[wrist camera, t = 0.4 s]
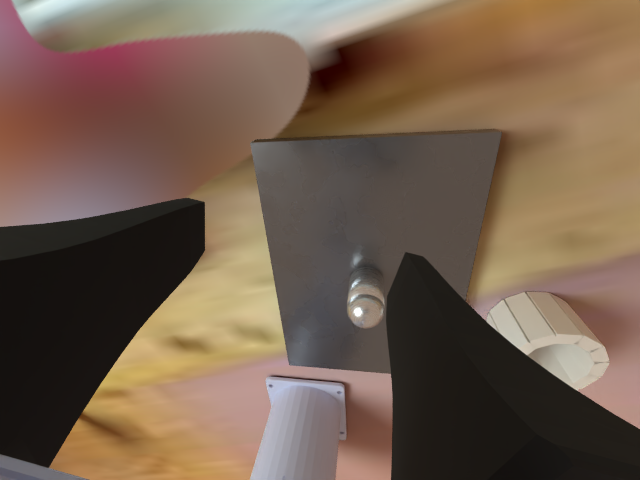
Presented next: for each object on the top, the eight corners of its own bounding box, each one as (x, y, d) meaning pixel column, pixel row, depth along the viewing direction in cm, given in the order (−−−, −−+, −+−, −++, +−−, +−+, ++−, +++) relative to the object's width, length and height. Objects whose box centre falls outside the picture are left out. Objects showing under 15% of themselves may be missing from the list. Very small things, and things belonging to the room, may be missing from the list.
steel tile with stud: (445, 368, 26) (461, 429, 21) (291, 356, 28) (276, 409, 24) (495, 128, 16) (541, 149, 12) (255, 139, 19) (219, 160, 14)
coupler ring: (556, 349, 23) (588, 398, 20) (479, 344, 24) (497, 389, 21) (581, 293, 20) (624, 338, 17) (494, 290, 21) (518, 331, 18)
